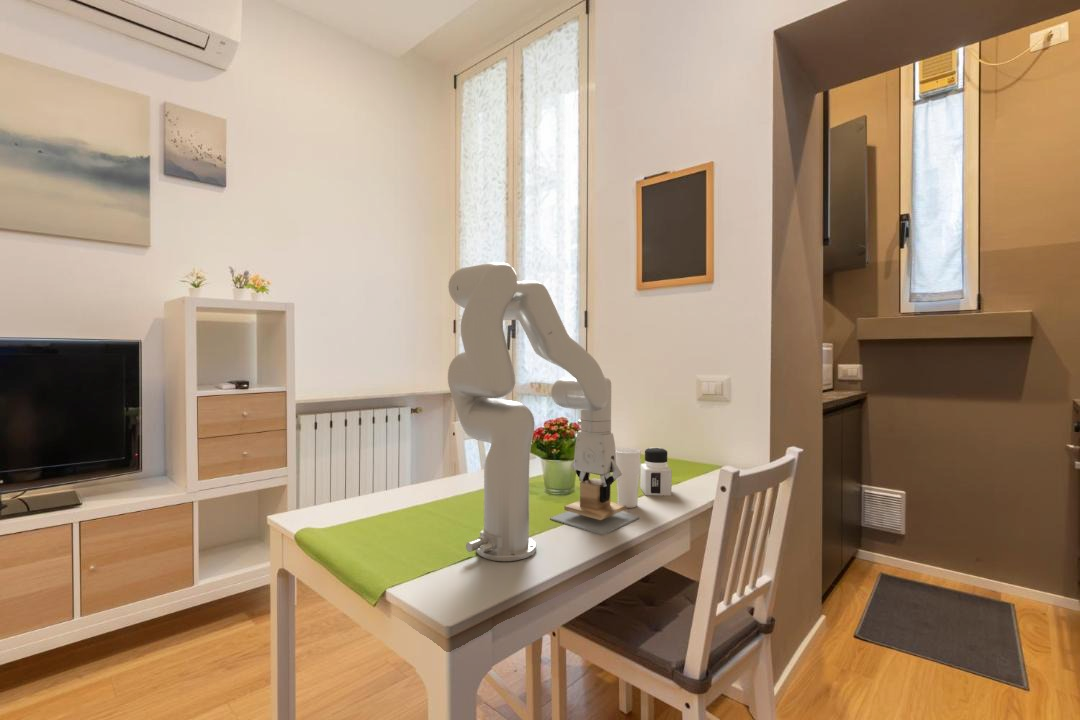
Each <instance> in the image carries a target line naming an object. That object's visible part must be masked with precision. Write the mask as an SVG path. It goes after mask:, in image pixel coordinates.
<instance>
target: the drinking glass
mask: <svg viewBox="0 0 1080 720" xmlns="http://www.w3.org/2000/svg"><path fill="white" fill-rule="evenodd" d="M615 450H616V465H617V466H618V468H619V470H620V471H621V473H622V475H621V476H620V477H619V478H617V479H616V480H615V481H616V489H617V490H616V491H617V503H618V504H622V505H626V509H632V508H636V507H637V506H638V503H639V501H638V500H639V499H638V498H639V488H640V487H639V486H640V479H641V464H642V454H641V450H639V449H637V448H628V447H627V448H618V449H615Z"/></svg>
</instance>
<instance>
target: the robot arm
mask: <svg viewBox="0 0 1080 720" xmlns="http://www.w3.org/2000/svg"><path fill="white" fill-rule="evenodd" d="M447 287H448V292H449V295H450V298H451V300H453V302H454V303H455V304H457V305H458V306H459V307H461V308H463V309H464V310H463V313H462V315H461V319H460V336H461V340H462V341H461V342H462V346H463V350H464V352H461V353H459V354H457V355H455V357H454V358H453V359H452V360H451V362H450V363H449V367H448V370H447V384H448V388H449V392H450V395H451V398H452V401H453V404H454V408H455V410H456V413H457V417H458V419H459V423H460V426H461V427H462V429H463V431H464V433H465V434H466V435H467V436H468V437H470V438H471V439H474V440H476V441H480V442H484V443H487V444H488V443H489V444H491V445H490V447H489V450H488V453H487V455H486V458H485V461H484V465H483V466H484V467H483V479H484V481H483V483H484V484H483V529H482V530H481V531H479V536H478V537H477V539H474V540H471V541H468V542H466V543H465V549H466V551H467V552H468V553H472V552H474V551H476V554H478V555H479V556H480V557H481V558H484V559H487V560H490V561H495V562H512V561H513V562H515V561H521V560H524V559H527V558H530V557H531V556H532V555H534V554H535V553H536V551H537V542H536V541H535V540H533V539H532V538H531V537H530V461H531V459H530V458H531V448H532V443H533V442H532V441H533V439H534V438H533V437H534V433H535V426H536V424H535V418H534V414H533V413H532V410H531V409H530V408H529V407H528V406H526V405H525V404H523V403H521V402H519V401H515V400H508V399H503V398H504V397H507V396H508V395H509V394H511V393H512V392H513V390H514V388H515V385H516V374H515V370H514V366H513V363H512V358H511V355H510V352H509V348H508V345H507V340H506V337H505V331H504V321H517V320H518V321H519V324H520V325H521V327H522V329H523V331H524V333H525V335H526V337H527V339H528V340H529V342H530V346H531V347H532V349H533V351H534V352H535V354H537V355H538V356H539V357H540V358H542V359H543V360H546V361H547V362H549V363H551V364H554V365H556V366H558V367H560V368H561V369H563V370H565V371H566V372H567V373H569V374H570V375H571V376H566V377H561V378H559V379H558V380H556V381H555V382H554V384H552V387H551V391H550V394H551V395H550V396H551V398H552V400H553V402H554V403H555V404H556V405H557V406H559V407H562V408H565V409H570V410H580V419H578V420H577V424H578V426H580V430H578V431H577V435H576V439H575V445H574V456H573V457H574V458H573V462H572V463H571V465H570V467H571V468H572V469H573V471H574V472H575V474H576V475H577V477H578V480H579V483H580V482H583V481H587V480H590V477H591V474H593V475H597V476H599V479H601V482H602V486H600V502H602V503H603V502H606V501H609V498H610V499H611V495H610V485H611V486H612V484H613V483H614V482H615V481H617V480H616V479H617V478H619V477H620V476H621V475H622V473H621V471H620V470H619V468H618V466H617V465H616V450H617V449H616V442H615V436H614V433H613V432H612V382H611V379H610V378H609V377H605V375H604V374H603V371H602V369H601V367H600V364H599V363H598V362H597V360H596V359H595V358H594V357H593V356H592V355H591V354H590V353H589V352H588V351H587V350H586V349H585V348H584V347H583V346H582V345H580V344H579V343H578V342H576V340H574V339H573V338H572V337H571V336H570V335H569V334H568V331H567V330H566V327H565V325H564V323H563V321H562V319H561V317H560V314H559V312H558V310H557V308H556V306H555V304H554V301H553V299H552V297H551V295H550V292H549V291H548V289H547V288H546V286H545V285H544V284H543V283H541V282H540V281H538V280H537V281H536V280H521V281H518V276H517V272H516V271H515V268H513V266H511V265H510V264H509V263H505V262H500V261H499V262H495V261H493V262H488V263H487V262H486V263H482V264H478V265H477V264H476V265H471V266H466V267H462V268H460V269H458V270H456V271H455V272H454V273H453V274H451V276H450V279H449V280H448V286H447ZM611 473H612V475H611Z"/></svg>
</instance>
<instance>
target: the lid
mask: <svg viewBox="0 0 1080 720" xmlns="http://www.w3.org/2000/svg"><path fill="white" fill-rule="evenodd" d="M600 486H602V482H601V478H595V477H593V478H589V480H587V481H583V482H580V481H579V500H578V501H575V502H572V503H569V504H567V505H564V507H563V509H564V511H565V512H567V511H569V512H573V513H576V514H580V515H584V516H587V517H591V518H594V519H598V520H602V519H605V518H607V517H609V516H612V515H614V514H616V513H619V512H624V511H626V510H627V508H626V505H622V504H618V502H614V501H611V497H610V498H609V501H606V502H603V503H602V502H600ZM611 486H612V485H610V496H611V493H612V492H611Z"/></svg>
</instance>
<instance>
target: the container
mask: <svg viewBox="0 0 1080 720" xmlns="http://www.w3.org/2000/svg"><path fill="white" fill-rule="evenodd" d="M672 473H673V471H672V469H671V468H670V467H669V465H668V451H667V450H666V449H664V448H662V447H648V448H645V450H644V463H641V468H640V487H639V488H640V489H641V491H642V493H643V494H644V495H645V496H657V497H658V496H663V495H664V497H665V496H667V497H669V496H672V486H673V485H672V484H673V483H672V481H673V480H672V478H673V477H672V476H673V474H672Z"/></svg>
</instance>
